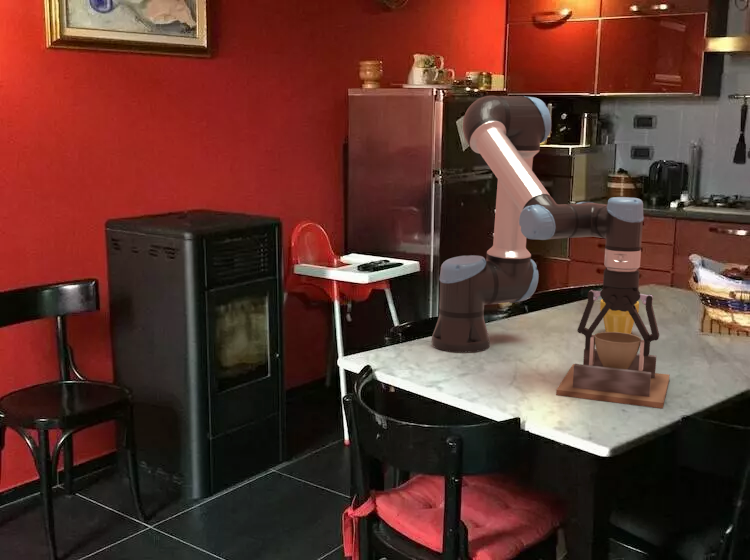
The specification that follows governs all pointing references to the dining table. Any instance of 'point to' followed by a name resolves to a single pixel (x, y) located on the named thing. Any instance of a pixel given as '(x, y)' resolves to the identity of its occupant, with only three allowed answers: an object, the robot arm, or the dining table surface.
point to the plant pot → (618, 320)
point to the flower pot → (617, 349)
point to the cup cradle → (616, 382)
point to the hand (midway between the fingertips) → (615, 367)
